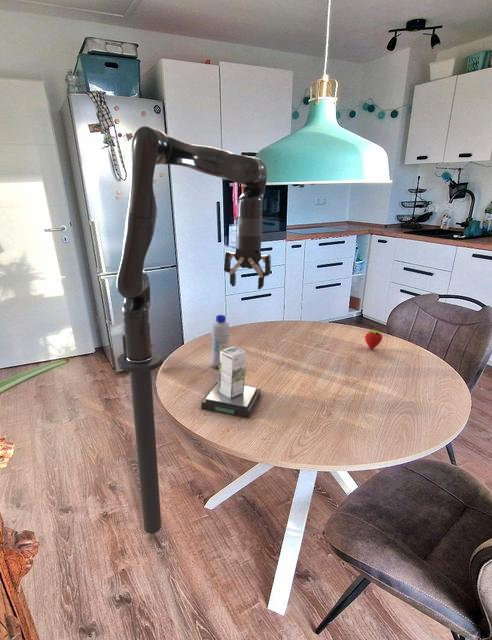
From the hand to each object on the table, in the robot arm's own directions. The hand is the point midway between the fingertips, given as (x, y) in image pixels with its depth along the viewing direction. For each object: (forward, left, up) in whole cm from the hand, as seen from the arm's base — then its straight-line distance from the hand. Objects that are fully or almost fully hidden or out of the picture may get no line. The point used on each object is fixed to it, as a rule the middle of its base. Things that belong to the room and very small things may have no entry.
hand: (246, 287), depth 121 cm
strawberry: (+44, +47, -33) cm, 72 cm away
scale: (+1, -15, -33) cm, 36 cm away
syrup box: (+1, -15, -30) cm, 34 cm away
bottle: (-11, +8, -33) cm, 36 cm away
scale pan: (+1, -15, -31) cm, 34 cm away
